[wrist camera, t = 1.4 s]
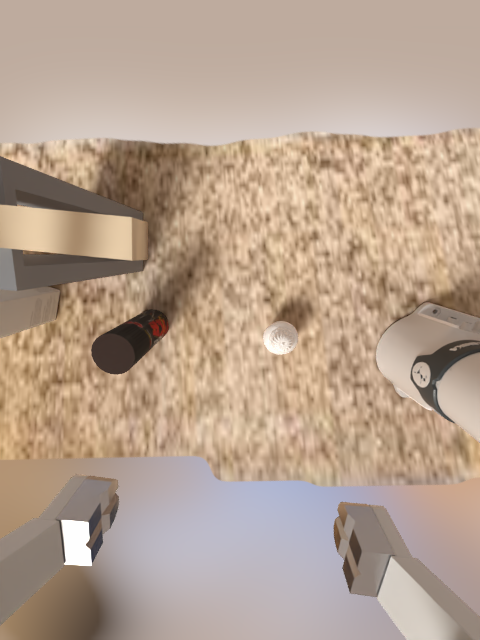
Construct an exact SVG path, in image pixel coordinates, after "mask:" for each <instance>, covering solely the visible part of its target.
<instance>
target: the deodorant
mask: <svg viewBox="0 0 480 640" xmlns="http://www.w3.org/2000/svg"><path fill="white" fill-rule="evenodd" d="M168 328H169V323H168V320H167V318H166V316H165V315H164V314H163V313H161V312H160V311H157V310H147V311H145V312H143V313H141V314H139V315H137V316H136V317H134V318H132V319H130V320H128V321H127V322H125V323H123V324H121V325H119V326H117V327H116V328H114V329H112V330H110V331H108V332H107V333H105V334H103V335H101V336H99V337H98V338H97V339H96V340H95V341H94V343H93V345H92V349H91V351H92V357H93V360H94V362H95V363H96V365H97V366H98V367H99V368H100V369H102V370H103V371H105V372H107V373H110V374H122V373H125V372H127V371H128V370H129V369H130V368H131V367H132V366H133V365H135V364H136V363H137V362H138V361H139V360H140V359H141V358H142V357H143V356H144V355H145V354H146V353H147V352H148V351H149V350H150V349H151V348H152V347H153V346H154V345H155V344H156V343H157V342H158V341H159V340H160V339H162V338H163V337H164V336H165V335H166V333H167V332H168Z"/></svg>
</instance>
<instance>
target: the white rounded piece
mask: <svg viewBox="0 0 480 640" xmlns="http://www.w3.org/2000/svg"><path fill="white" fill-rule="evenodd" d="M263 339H264V344H265V346H266V348H267V349H268V350H269V351H271V352H272V353H275V354H286V353H289V352H290V351H292V350H293V349H294V348H295V347H296V345H297V343H298V333H297V330H296V329H295V327H294V326H293V325H292V324H290V323H288V322H285V321H277V322H274V323H272V324H271V325H269V326H268V327H267V328H266V330H265V332H264V336H263Z"/></svg>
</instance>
